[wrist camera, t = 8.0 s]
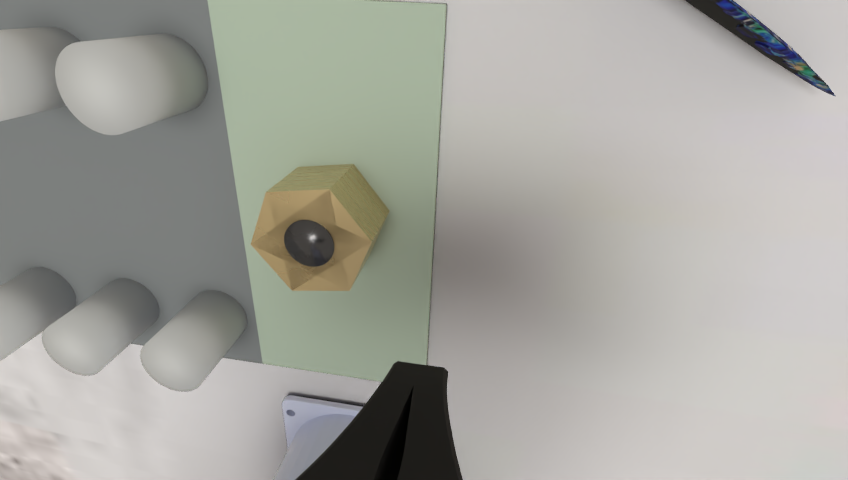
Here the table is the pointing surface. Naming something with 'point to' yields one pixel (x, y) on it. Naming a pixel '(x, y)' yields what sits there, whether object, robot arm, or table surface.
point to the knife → (759, 37)
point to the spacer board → (210, 178)
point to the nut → (319, 227)
